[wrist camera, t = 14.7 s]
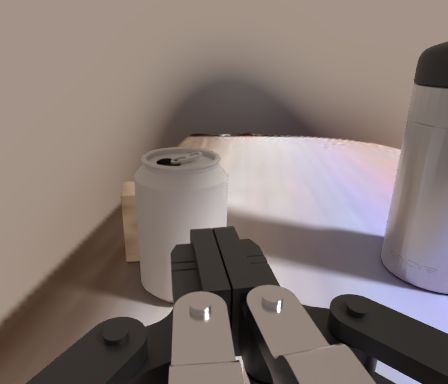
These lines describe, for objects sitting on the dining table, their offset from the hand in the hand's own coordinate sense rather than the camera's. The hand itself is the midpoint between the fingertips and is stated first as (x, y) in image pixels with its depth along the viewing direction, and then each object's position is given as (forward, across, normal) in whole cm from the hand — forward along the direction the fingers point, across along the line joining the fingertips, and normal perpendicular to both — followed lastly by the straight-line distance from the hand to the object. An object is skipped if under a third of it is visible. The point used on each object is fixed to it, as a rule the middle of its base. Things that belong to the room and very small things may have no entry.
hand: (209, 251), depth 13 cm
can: (+17, 0, +14) cm, 22 cm away
